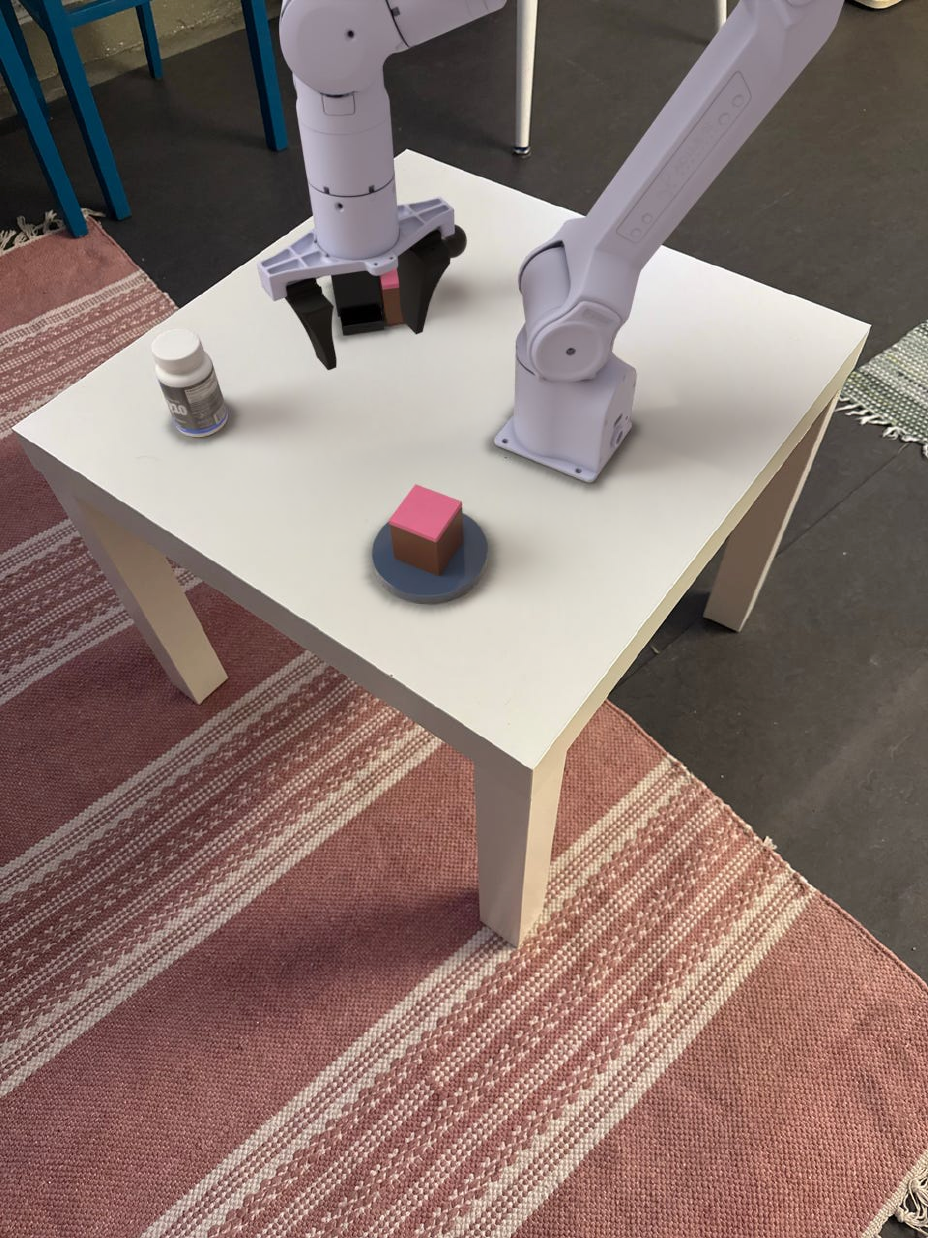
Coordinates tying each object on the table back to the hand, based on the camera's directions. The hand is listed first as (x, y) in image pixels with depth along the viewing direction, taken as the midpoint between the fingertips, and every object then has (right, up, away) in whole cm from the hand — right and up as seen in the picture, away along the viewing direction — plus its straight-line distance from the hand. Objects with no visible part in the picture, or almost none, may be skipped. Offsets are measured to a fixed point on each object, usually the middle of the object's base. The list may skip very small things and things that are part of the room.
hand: (370, 343), depth 71 cm
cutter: (+1, +14, +15) cm, 20 cm away
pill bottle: (-16, -4, +11) cm, 20 cm away
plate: (+5, -16, +1) cm, 17 cm away
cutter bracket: (-3, +9, +19) cm, 22 cm away
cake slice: (+4, -16, 0) cm, 16 cm away
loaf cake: (+1, +10, +20) cm, 22 cm away
